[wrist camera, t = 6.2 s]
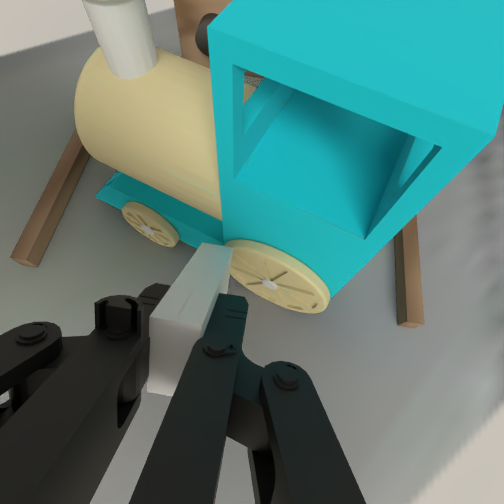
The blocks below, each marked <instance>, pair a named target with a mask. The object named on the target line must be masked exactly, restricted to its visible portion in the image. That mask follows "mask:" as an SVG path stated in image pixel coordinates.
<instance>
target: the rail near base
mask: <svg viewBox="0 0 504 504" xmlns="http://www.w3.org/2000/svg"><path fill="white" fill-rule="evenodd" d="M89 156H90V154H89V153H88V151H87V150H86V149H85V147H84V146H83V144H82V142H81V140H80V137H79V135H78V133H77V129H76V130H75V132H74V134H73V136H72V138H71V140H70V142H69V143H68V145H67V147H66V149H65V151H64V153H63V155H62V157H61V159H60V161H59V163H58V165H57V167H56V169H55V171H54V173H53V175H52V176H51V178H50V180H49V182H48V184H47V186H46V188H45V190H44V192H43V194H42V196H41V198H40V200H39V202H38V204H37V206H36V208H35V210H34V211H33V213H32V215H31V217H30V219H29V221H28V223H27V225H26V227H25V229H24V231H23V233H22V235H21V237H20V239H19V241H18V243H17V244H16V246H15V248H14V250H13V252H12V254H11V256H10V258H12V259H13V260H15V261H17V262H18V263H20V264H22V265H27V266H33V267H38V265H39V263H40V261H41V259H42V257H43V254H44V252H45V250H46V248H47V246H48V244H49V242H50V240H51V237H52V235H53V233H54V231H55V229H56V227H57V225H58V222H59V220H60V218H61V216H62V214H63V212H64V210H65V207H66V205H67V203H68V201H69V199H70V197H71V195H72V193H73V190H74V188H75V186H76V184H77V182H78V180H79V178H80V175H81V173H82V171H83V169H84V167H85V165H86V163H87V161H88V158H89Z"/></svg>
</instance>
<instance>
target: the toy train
mask: <svg viewBox="0 0 504 504" xmlns="http://www.w3.org/2000/svg"><path fill="white" fill-rule="evenodd" d="M82 1H83V4H84V7H85V9H86V12H87V14H88V17H89V19H90V22H91V24H92V27H93V29H94V32H95V34H96V37H97V40H98V42H99V45H100V46H99V47H98V48H97V49H96V50H95V51H94V52H93V53H92V54H91V56H90V57H89V59H88V60H87V62H86V64H85V66H84V68H83V69H82V71H81V74H80V77H79V79H78V82H77V87H76V91H75V99H74V118H75V124H76V129H77V133H78V135H79V137H80V140H81V142H82V144H83V146H84V147H85V149H86V150H87V151H88V153H89V154H90V155H91V156H92V157H93V158H95V159H96V160H98V161H100V162H102V163H104V164H106V165H108V166H110V167H112V168H114V169H116V170H118V171H117V172H116V173H115V174H114V175H113V176H112V177H111V178H110V179H109V181H108V182H107V183H106V184H105V185H104V186H103V187H102V188H101V190H100V191H99V192H98V193H97V194H96V195H95V196H94V197H96V198H98V199H100V200H102V201H104V202H106V203H108V204H110V205H112V206H114V207H116V208H118V209H120V210H121V211H122V214H123V216H124V218H125V219H126V220H127V222H128V223H129V224H130V225H132V226H133V227H134V228H135V229H136V230H137V231H139V232H140V233H141V234H143V235H144V236H146V237H147V238H149V239H150V240H152V241H154V242H156V243H158V244H160V245H163V246H166V247H174V246H175V245H176V244H177V242H178V241H179V240H181V241H182V242H184V243H186V244H188V245H190V246H192V247H194V248H196V249H198V248H199V247H200V245H201V244H202V242H203V243H209V244H215V245H221V246H227V247H233V254H232V261H231V269H230V274H231V276H232V277H234V278H235V279H236V280H237V281H238V282H239V283H241V284H242V285H243V286H245V287H246V288H248V289H249V290H251V291H252V292H254V293H255V294H257V295H259V296H260V297H262V298H264V299H266V300H268V301H270V302H272V303H275V304H277V305H279V306H282V307H284V308H287V309H290V310H294V311H298V312H303V313H319V312H322V311H324V310H325V309H326V307H327V306H328V303H329V301H330V299H331V298H332V297H333V296H334V295H335V294H336V293H337V292H338V291H339V290H340V289H341V288H342V287H343V286H344V285H345V284H346V283H347V282H348V281H349V280H350V279H351V278H352V277H353V276H354V275H355V274H357V273H358V272H359V271H360V270H361V269H362V268H363V267H364V266H365V265H366V264H367V263H368V262H369V261H370V260H371V259H372V258H373V257H374V256H375V255H376V254H377V253H378V252H379V251H380V250H381V249H382V248H383V247H384V246H385V245H386V244H387V243H388V242H389V241H390V240H391V239H392V238H393V237H394V236H395V235H396V234H397V233H398V232H399V231H400V230H401V229H402V228H403V227H404V226H405V225H406V224H407V223H408V222H409V221H410V220H411V219H412V218H413V217H414V216H415V215H416V214H417V213H418V212H419V211H420V210H421V209H422V208H423V207H424V206H425V205H426V204H427V203H428V202H429V201H430V200H431V199H432V198H433V197H434V196H435V195H436V194H437V193H438V192H439V191H440V190H441V189H442V188H443V187H445V186H446V185H447V184H448V183H449V182H450V181H451V180H452V179H453V178H454V177H455V176H456V175H457V174H458V173H459V172H460V171H461V170H462V169H463V168H464V167H465V166H466V165H467V164H468V163H469V162H470V161H471V160H472V159H473V158H474V157H475V156H476V155H477V154H478V153H479V152H480V151H481V150H482V149H483V148H484V147H485V146H486V145H487V144H488V143H489V142H490V141H491V140H492V139H493V138H494V137H495V134H496V130H497V127H498V123H499V119H500V115H501V111H502V107H503V103H504V0H232V2H231V3H230V4H229V5H228V6H227V7H226V8H225V9H224V10H223V11H222V12H221V13H220V14H219V15H218V16H217V17H216V18H215V19H214V20H213V21H212V22H211V23H210V24H209V25H208V26H207V34H208V46H209V59H210V69H209V68H207V67H204V66H202V65H199V64H197V63H194V62H192V61H189V60H187V59H184V58H182V57H180V56H177V55H175V54H172V53H170V52H167V51H165V50H162V49H160V48H157V47H155V42H154V38H153V34H152V30H151V25H150V21H149V17H148V12H147V8H146V4H145V0H82ZM247 70H249V71H251V72H254V73H256V74H259V75H261V76H264V77H265V78H264V79H263V80H262V82H261V83H260V84H259V86H258V87H257V88H256V87H254V86H251V85H249V84H246V83H244V73H245V72H246V71H247Z"/></svg>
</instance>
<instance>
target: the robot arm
mask: <svg viewBox="0 0 504 504" xmlns="http://www.w3.org/2000/svg"><path fill="white" fill-rule="evenodd" d="M232 254H233V247H227V246H221V245H215V244H209V243H203V242H202V244H201V245H200V247H199V248H198V249H197V251H196V252H195V254H194V255H193V256H192V258H191V259H190V261H189V262H188V263H187V265H186V266H185V268H184V269H183V270H182V272H181V273H180V275H179V276H178V277H177V279H176V280H175V282H174V283H173V284H172V286H170V285H164V284H158V283H155V284H153V285H151V286H149V287H147V288H145V289H144V290H143V292H142V293H141V294H140V295H139V297H137V298H135V297H132V296H126V295H116V296H109V297H106V298H102V299H100V300H99V301H97V302H95V303H94V304H95V329H94V330H93V331H92V332H91V333H90V334H89V335H88V336H73V337H62V333H61V329H60V327H59V326H57V325H56V324H54V323H49V322H32V323H28V324H23V325H21V326H18V327H16V328H13V329H12V330H10V331H8V332H6V333H4V334H2V335H0V395H2V394H3V393H5V392H6V391H8V392H9V398H10V399H9V400H8V401H6V402H4V403H2V404H0V504H89V503H90V501H91V499H92V497H93V496H94V494H95V492H96V490H97V488H98V486H99V484H100V482H101V480H102V478H103V476H104V474H105V472H106V470H107V468H108V466H109V464H110V462H111V460H112V458H113V456H114V455H115V453H116V451H117V449H118V447H119V445H120V443H121V441H122V439H123V437H124V435H125V433H126V431H127V429H128V427H129V425H130V423H131V421H132V419H133V417H134V415H135V414H136V412H137V410H138V408H139V405H140V401H141V390H142V388H143V386H144V384H145V382H146V380H147V392H150V393H156V394H162V395H167V396H173V397H172V399H171V402H170V404H169V407H168V409H167V411H166V414H165V416H164V419H163V421H162V424H161V426H160V429H159V431H158V433H157V436H156V438H155V441H154V443H153V446H152V448H151V451H150V453H149V455H148V458H147V460H146V463H145V465H144V468H143V470H142V473H141V475H140V478H139V480H138V482H137V485H136V487H135V490H134V492H133V495H132V497H131V500H130V502H129V504H214V503H215V498H216V492H217V486H218V481H219V475H220V469H221V464H222V458H223V452H224V446H225V441H226V436H228V437H230V438H231V439H233V440H235V441H237V442H239V443H241V444H243V445H244V446H246V447H248V458H249V465H250V471H251V478H252V485H253V491H254V498H255V504H366V502H365V500H364V498H363V495H362V493H361V491H360V489H359V486H358V484H357V482H356V480H355V477H354V475H353V473H352V471H351V468H350V466H349V464H348V462H347V459H346V457H345V455H344V452H343V450H342V448H341V446H340V443H339V441H338V439H337V437H336V434H335V432H334V430H333V428H332V425H331V423H330V421H329V419H328V416H327V414H326V412H325V410H324V407H323V405H322V403H321V401H320V398H319V396H318V394H317V392H316V389H315V387H314V385H313V383H312V380H311V378H310V377H309V375H308V374H307V372H306V371H304V370H303V369H302V368H301V367H299V366H297V365H295V364H293V363H290V362H284V361H277V362H272V363H270V364H268V365H266V366H265V368H263V367H261V366H258V365H256V364H255V363H253V362H251V361H250V360H249V359H247V358H246V356H245V355H244V354H243V351H242V342H243V336H244V330H245V323H246V317H247V311H248V303H247V301H246V299H245V297H241V296H235V295H229V294H227V291H228V284H229V276H230V269H231V261H232Z"/></svg>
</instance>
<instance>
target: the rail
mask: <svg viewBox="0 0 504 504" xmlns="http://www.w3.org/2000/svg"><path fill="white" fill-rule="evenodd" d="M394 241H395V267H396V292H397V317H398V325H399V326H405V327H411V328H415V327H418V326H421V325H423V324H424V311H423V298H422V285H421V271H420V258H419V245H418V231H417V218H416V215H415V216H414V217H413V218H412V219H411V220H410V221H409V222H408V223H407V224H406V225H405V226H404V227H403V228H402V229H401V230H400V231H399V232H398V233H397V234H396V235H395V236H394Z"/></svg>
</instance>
